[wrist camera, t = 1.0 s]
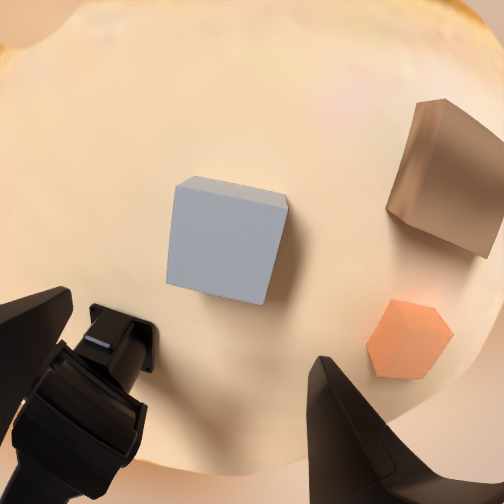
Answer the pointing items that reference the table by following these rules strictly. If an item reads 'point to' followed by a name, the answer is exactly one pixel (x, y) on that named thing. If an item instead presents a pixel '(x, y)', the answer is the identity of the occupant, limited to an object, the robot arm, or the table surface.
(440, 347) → the terracotta block
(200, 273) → the grey block
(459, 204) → the walnut base
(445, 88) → the table surface
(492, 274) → the table surface
